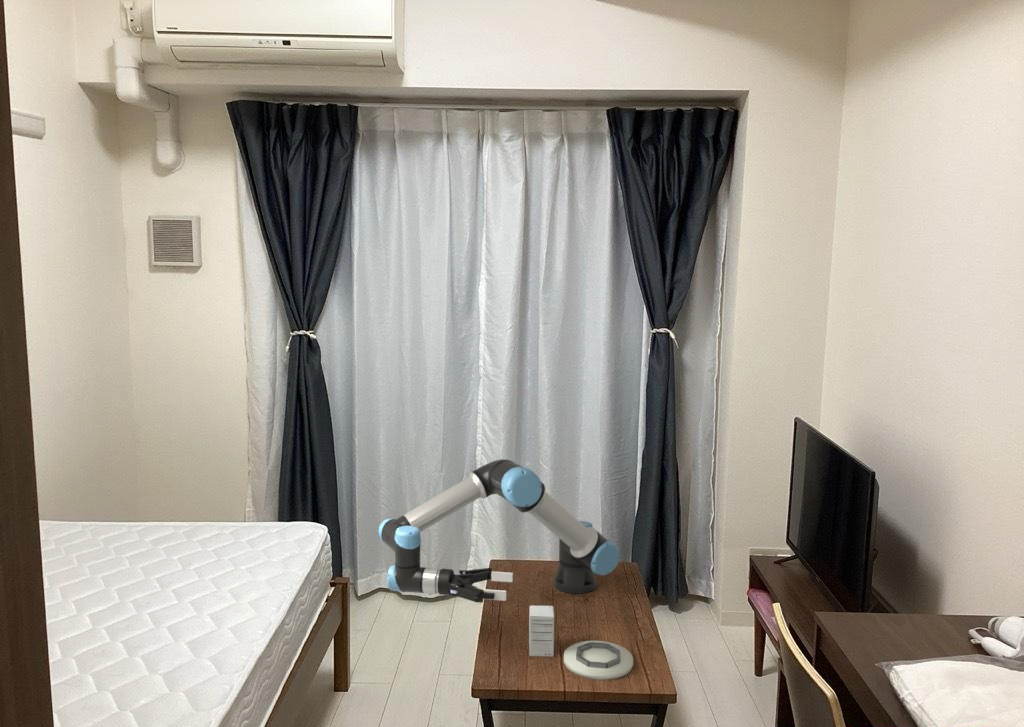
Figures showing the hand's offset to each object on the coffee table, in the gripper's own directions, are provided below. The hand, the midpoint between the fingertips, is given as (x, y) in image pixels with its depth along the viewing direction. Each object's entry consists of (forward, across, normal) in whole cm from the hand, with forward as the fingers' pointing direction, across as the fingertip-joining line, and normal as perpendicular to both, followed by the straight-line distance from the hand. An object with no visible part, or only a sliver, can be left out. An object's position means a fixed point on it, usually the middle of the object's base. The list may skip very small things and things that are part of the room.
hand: (509, 586), depth 236 cm
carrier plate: (+27, +4, -19) cm, 33 cm away
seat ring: (+27, +4, -18) cm, 32 cm away
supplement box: (+10, 0, -20) cm, 22 cm away
